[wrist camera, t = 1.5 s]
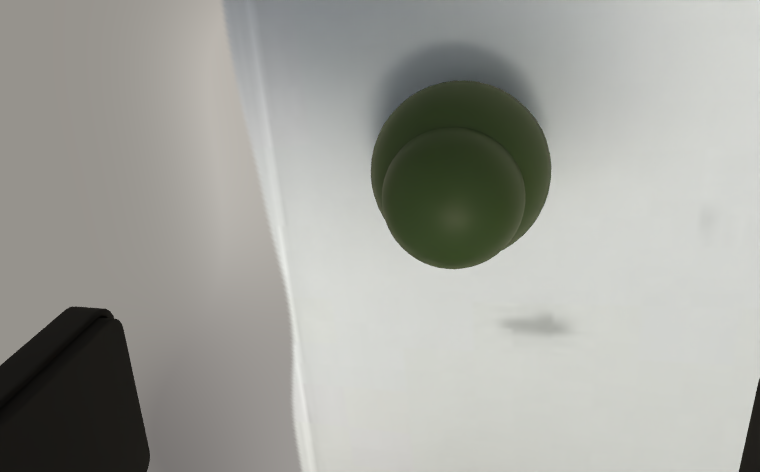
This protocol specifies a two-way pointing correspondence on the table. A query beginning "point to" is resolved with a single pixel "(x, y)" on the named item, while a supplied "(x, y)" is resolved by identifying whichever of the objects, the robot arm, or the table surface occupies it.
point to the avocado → (460, 173)
